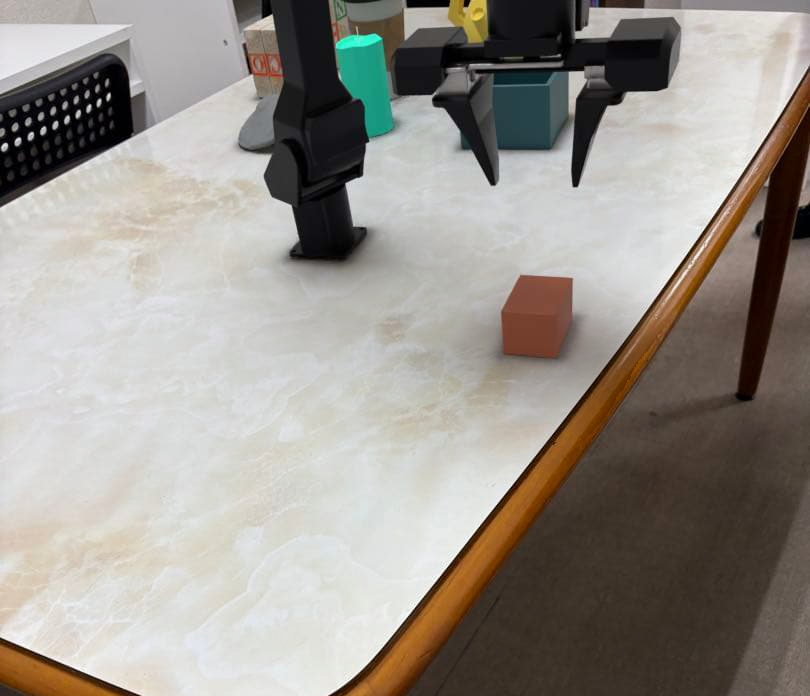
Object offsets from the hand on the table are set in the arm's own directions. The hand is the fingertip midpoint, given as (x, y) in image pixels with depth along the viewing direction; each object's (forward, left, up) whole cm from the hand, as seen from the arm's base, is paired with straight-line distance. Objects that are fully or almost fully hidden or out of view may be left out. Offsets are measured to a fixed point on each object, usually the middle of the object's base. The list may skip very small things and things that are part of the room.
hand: (535, 184), depth 64 cm
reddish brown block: (0, 0, -13) cm, 13 cm away
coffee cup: (+59, +37, -13) cm, 71 cm away
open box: (+40, +14, -10) cm, 43 cm away
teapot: (+73, +23, -13) cm, 78 cm away
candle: (+46, +34, -13) cm, 59 cm away
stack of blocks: (+68, +53, -13) cm, 87 cm away
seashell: (+43, +47, -13) cm, 65 cm away
